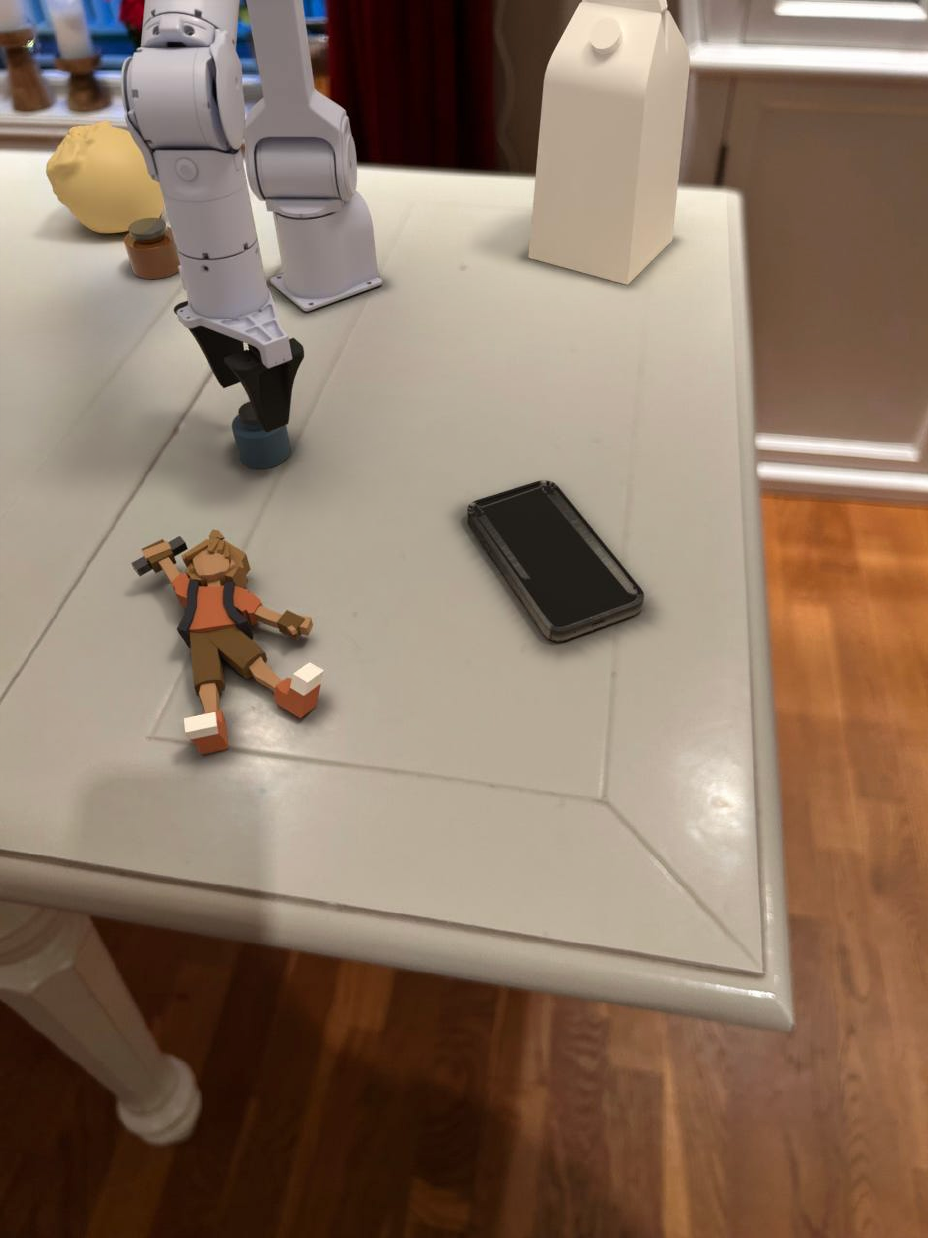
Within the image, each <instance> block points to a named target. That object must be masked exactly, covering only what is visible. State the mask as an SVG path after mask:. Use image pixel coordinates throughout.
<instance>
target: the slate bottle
mask: <svg viewBox="0 0 928 1238" xmlns="http://www.w3.org/2000/svg"><path fill="white" fill-rule="evenodd" d="M237 411H238V412H237V415H236V416H235V417H234V418H233V419H232V422H231V430H232V434H233V438H234V441H235V442H234V443H235V446H236V450H237V452H238V457H239V460H240V462H241V463H242V464H243V465H245V466H247V467H248V468H253V469H259V470H262V469H270V468H274V467H276V466H279V465H280V464H282V463H284V462H285V461H286V460H287V459H288V458H289V456H290V455H291V451H292V448H291V443H290V438H289V432H288V428H287V425H284V426H282V427H280V428H277V429H275V430H272V431H270V432H265V431H264V430H263V428H262V427H261V425H260V424H259V422H258V420H257V418H256V416H255V413H254V410H253V408H252V405H251V402H250V401H247V402H245V403H243V404H242V405H241V406H240V407H239V408H238V410H237Z"/></svg>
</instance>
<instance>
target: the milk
mask: <svg viewBox="0 0 928 1238" xmlns="http://www.w3.org/2000/svg"><path fill="white" fill-rule="evenodd" d="M690 65H691V57H690V51H689V48H688V45H687V42H686V39H685V38H684V37H683V35H682V33H681V31H680V29H679V27H678V25H677V23H676V22H675V19H674V18H673V16H672V14H671V11H670V10H668V1H667V0H581V2H579V3H578V5H577V8H576V9H575V11H574V13H573V15H572V17H571V19H570V20H569V23H568V24H567V26H566V28H565V29H564V31H563V34H562V35H561V37H560V39H559V41H558V42H557V45H556V46H555V48H554V50H553V52H552V53H551V56H550V58H549V61H548V64H547V67H546V69H545V73H544V78H543V87H542V88H543V89H542V99H541V100H542V101H541V109H540V124H539V133H538V143H537V157H536V167H535V177H534V190H533V201H532V212H531V213H532V214H531V221H530V222H531V224H530V233H529V234H530V236H529V244H528V245H529V246H528V255H527V256H528V257H527V258H529V259H531V260H536V261H539V262H543V263H546V264H550V265H554V266H558V267H561V268H564V269H568V270H571V271H575V272H579V273H583V274H586V275H590V276H593V277H597V278H600V279H605V280H608V281H611V282H614V283H615V282H616V283H618V284H623V285H625V286H626V285H627V286H628V285H629V284H630V283H631V282H632V281H633V280H635V278H636V277H638V275H639V274H640V273H642V271H644V269H646V267H647V266H649V265H650V263H652V261H653V260H654V259H656V258H657V256H659V254H661V252H663V251H664V250H665V249H666V248H667V247H668V246H669V245H670V244H671V243H672V242H673V238H674V229H675V228H674V227H675V217H676V208H677V198H678V187H679V178H680V167H681V158H682V149H683V139H684V138H683V137H684V129H685V128H684V127H685V126H684V125H685V118H686V109H687V108H686V107H687V97H688V88H689V87H688V86H689V80H690V79H689V77H690Z"/></svg>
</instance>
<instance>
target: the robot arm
mask: <svg viewBox="0 0 928 1238" xmlns="http://www.w3.org/2000/svg"><path fill="white" fill-rule="evenodd" d="M240 1H241V0H144V8H143V17H142V18H143V20H142V28H141V29H142V31H141V40H140V47H137V48H136V49H135V50H136V51H135V52H133V55H132V56H127V57H126V58H125V59H124V61H123V64H122V66H121V73H120V93H121V100H122V105H123V111H124V116H123V117H124V119H125V122H126V126H127V130H128V131H129V132H130V134H131V136H132V138H133V140H134V142H135V144H136V145H137V146H138V148H139V149H140V151H141V152H142V155H143V157H144V160H145V163H146V167H147V171H148V174H149V175H150V176H151V179H152V180H155V181H157V182H159V185H160V188H161V192H162V196H163V200H164V204H165V205H164V208H165V211H166V215H167V218H168V222H169V227H170V228H171V230H172V234H173V238H174V242H175V245H176V249H177V253H178V257H179V261H180V264H181V265H180V266H178V269H179V272H178V273H179V277H180V279H181V283H182V287H183V289H184V290H185V292H186V299H187V300H185V301H182V302H179V303H178V304H176V305H175V306H174V307H173V312H174V315H176V316H177V319H178V321H179V322H180V324H181V325H183V327H185V328H186V329H188V330H189V332H190V333H191V335H192V336H193V338H194V339H195V341H196V343H197V344H198V346H199V348H200V350H201V351H202V353H203V355H204V358H205V360H206V361H207V363H208V366H209V368H210V369H211V371H212V373H213V375H214V377H215V379H216V381H217V383H218V384H219V385H220V386H221V387H222V388H223V389H226V388H229V387H231V386H234V385H237V384H241V386H242V387H243V389H244V391H245V393H246V396H247V397H248V400H249V402H251V405H252V408H253V410H254V413H255V416H256V418H257V420H258V422H259V424H260V425H261V427H262V428H263V430H264V431H265V432H270V431H272V430H275V429H277V428H280V427H282V426H284V425H286V426H287V425H289V422H290V414H291V403H292V394H293V388H294V383H295V379H296V376H297V373H298V370H299V368H300V366H301V365H302V362H303V360H304V359H305V348H304V346H303V344H302V343H301V342H300V341H298V340H297V339H296V338H295V337H291V338H289V335H288V334H287V333H286V332H285V331H284V329H283V328H282V326H281V323H280V320H279V317H278V313H277V309H276V306H275V301H274V299H273V294H272V292H271V290H270V289H269V287H268V285H267V279H266V274H265V269H264V263H263V258H262V253H261V248H260V242H259V237H258V233H257V227H256V221H255V217H254V212H253V206H252V201H251V196H250V190H251V192H252V193H253V195H255V197H256V198H257V199H258V200H259V201H261V202H265V206H266V211H267V212H271V213H272V217H273V223H274V228H275V234H276V240H277V245H278V250H279V257H280V261H281V267H282V273H281V274H278V275H275V276H272V277H271V278H270V279H269V281H270V284H271V285H272V286H274V287H275V288H276V289H277V290H278V291H280V292H281V293H282V294H283V295H284V296H286V297H287V299H289V300H290V301H292V303H293V304H295V305H296V306H298V307H299V308H300V309H301V310H302V311H304V312H311V311H313V310H317V309H319V308H321V307H324V306H328V305H331V304H333V303H335V302H339V301H341V300H344V299H346V298H349V297H351V296H354V295H357V294H360V293H363V292H365V291H368V290H371V289H374V288H377V287H380V286H381V285H382V284H383V279H381V278H380V277H379V272H378V271H379V270H378V262H377V261H378V260H377V250H376V241H375V232H374V231H375V230H374V222H373V218H372V214H371V212H370V209H369V206H368V204H367V201H366V200H365V199H364V197H363V195H361V193H360V192H359V191H358V190H357V182H358V160H357V151H356V144H355V140H354V137H353V136H352V131H351V126H350V125H351V124H350V118H349V116H348V115H347V111H346V109H344V107H342V106H341V105H339V104H338V103H336V102H335V101H333V100H332V99H330V98H329V97H327V96H326V95H324V94H323V93H321V92H320V91H318V90H317V89H316V87H315V81H314V73H313V67H312V66H313V65H312V59H311V52H310V44H309V38H308V29H307V22H306V16H305V10H304V9H305V7H304V0H245V1H246V6H247V12H248V18H249V23H250V28H251V36H252V40H253V45H254V50H255V57H256V62H257V68H258V75H259V79H260V80H259V81H260V85H261V90H262V96H263V97H261V99H259V101H257V102H256V103H255V104H254V105H253V106H252V107H251V108H250V110H249V111H248V112H247V114H246V104H245V95H244V89H243V87H244V86H243V66H242V65H243V64H242V62H241V60H240V58H239V55H238V52H237V41H238V28H239V15H240ZM243 142H244V156H245V157H244V160H243V154H242V148H241V147H242V145H243ZM244 161H245V165H244ZM247 181H248V182H247ZM249 188H250V190H249ZM244 343H245V344H247V347H248V349H245V346H244Z"/></svg>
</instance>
